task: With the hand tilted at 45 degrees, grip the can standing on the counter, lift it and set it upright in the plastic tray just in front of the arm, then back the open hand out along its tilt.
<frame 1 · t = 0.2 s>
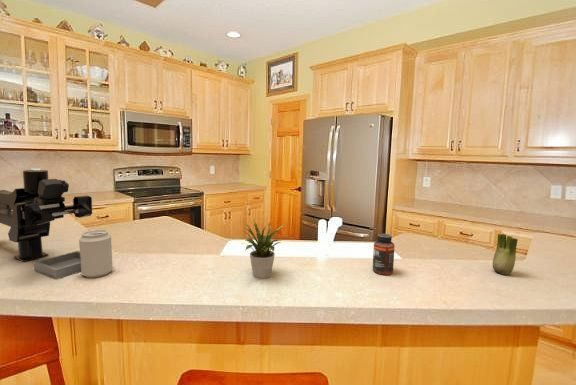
hand: (73, 215, 83), 17 cm above the countertop, tool horizontal, fingers open, 9 cm apart
supplement bottle: (382, 272, 91), on the countertop
can: (97, 273, 85), on the countertop
tray: (68, 267, 89), on the countertop
fennel bulb: (501, 273, 93), on the countertop
house plant: (257, 275, 87), on the countertop
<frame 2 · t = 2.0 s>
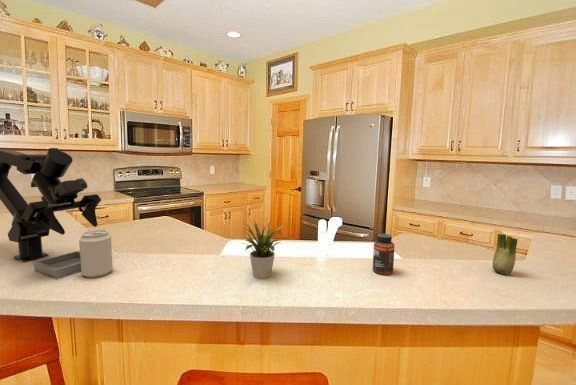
hand: (80, 229, 86), 12 cm above the countertop, tool tilted 45°, fingers open, 9 cm apart
nothing on the countertop moved.
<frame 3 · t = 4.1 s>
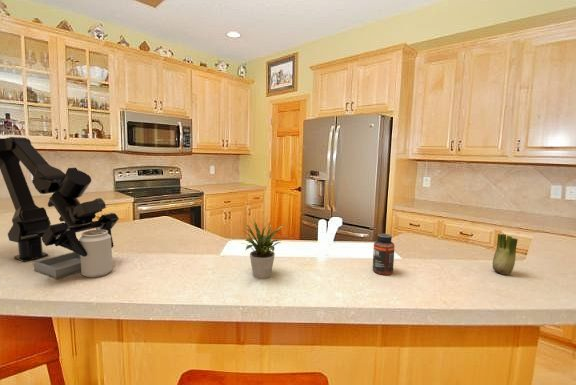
hand: (99, 251, 84), 7 cm above the countertop, tool tilted 45°, fingers closed on can, 7 cm apart
can: (97, 273, 85), on the countertop, touching gripper
everything else where it was.
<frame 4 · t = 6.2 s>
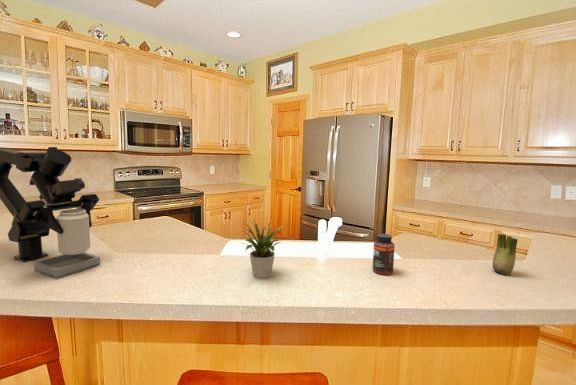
hand: (76, 229, 86), 12 cm above the countertop, tool tilted 45°, fingers closed on can, 7 cm apart
can: (75, 252, 87), point 5 cm above the countertop, touching gripper
everything else where it was.
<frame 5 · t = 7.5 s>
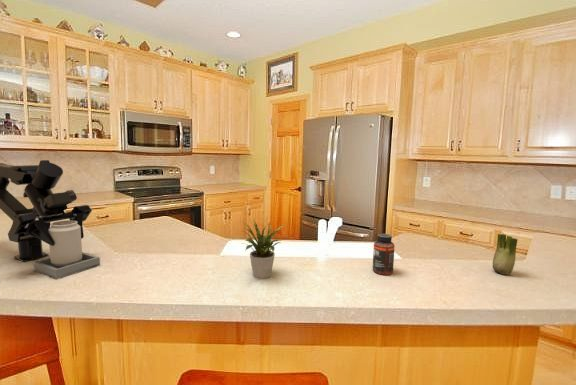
hand: (68, 241, 87), 8 cm above the countertop, tool tilted 45°, fingers closed on can, 7 cm apart
can: (67, 263, 89), point 1 cm above the countertop, touching gripper
everything else where it was.
when the fingers open (8 cm above the countertop, at t = 8.6 s): can stays where it is, resting on tray.
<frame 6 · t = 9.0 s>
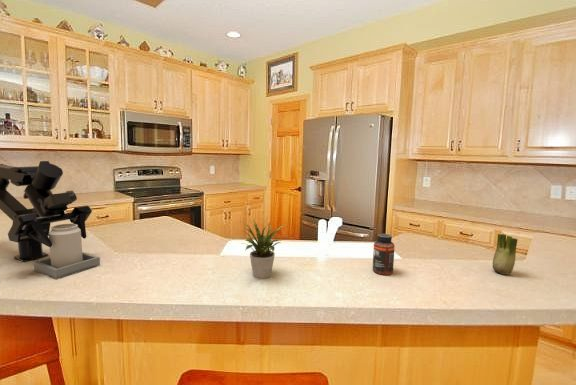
hand: (68, 241, 87), 8 cm above the countertop, tool tilted 45°, fingers open, 9 cm apart
can: (67, 266, 89), resting on tray
everything else where it was.
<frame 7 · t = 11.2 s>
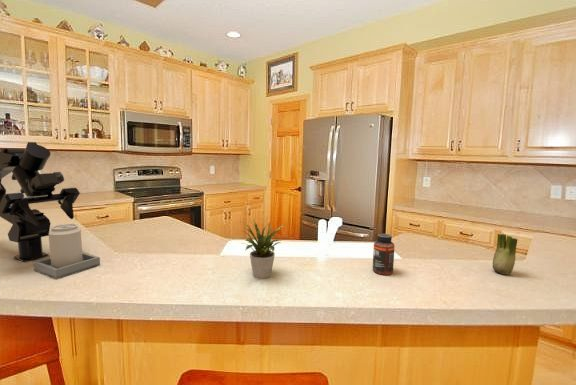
hand: (56, 221, 89), 13 cm above the countertop, tool tilted 45°, fingers open, 9 cm apart
nothing on the countertop moved.
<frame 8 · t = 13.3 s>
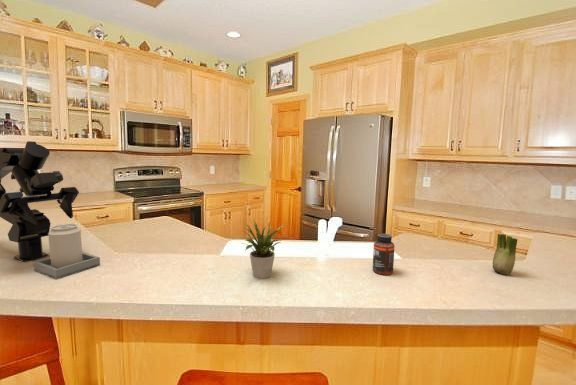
hand: (55, 220, 89), 14 cm above the countertop, tool tilted 45°, fingers open, 9 cm apart
nothing on the countertop moved.
at the end: can 0.2 cm off-centre on the tray, point 0.4 cm above the tray's base; can tilted 0°; the gripper is holding nothing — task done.
